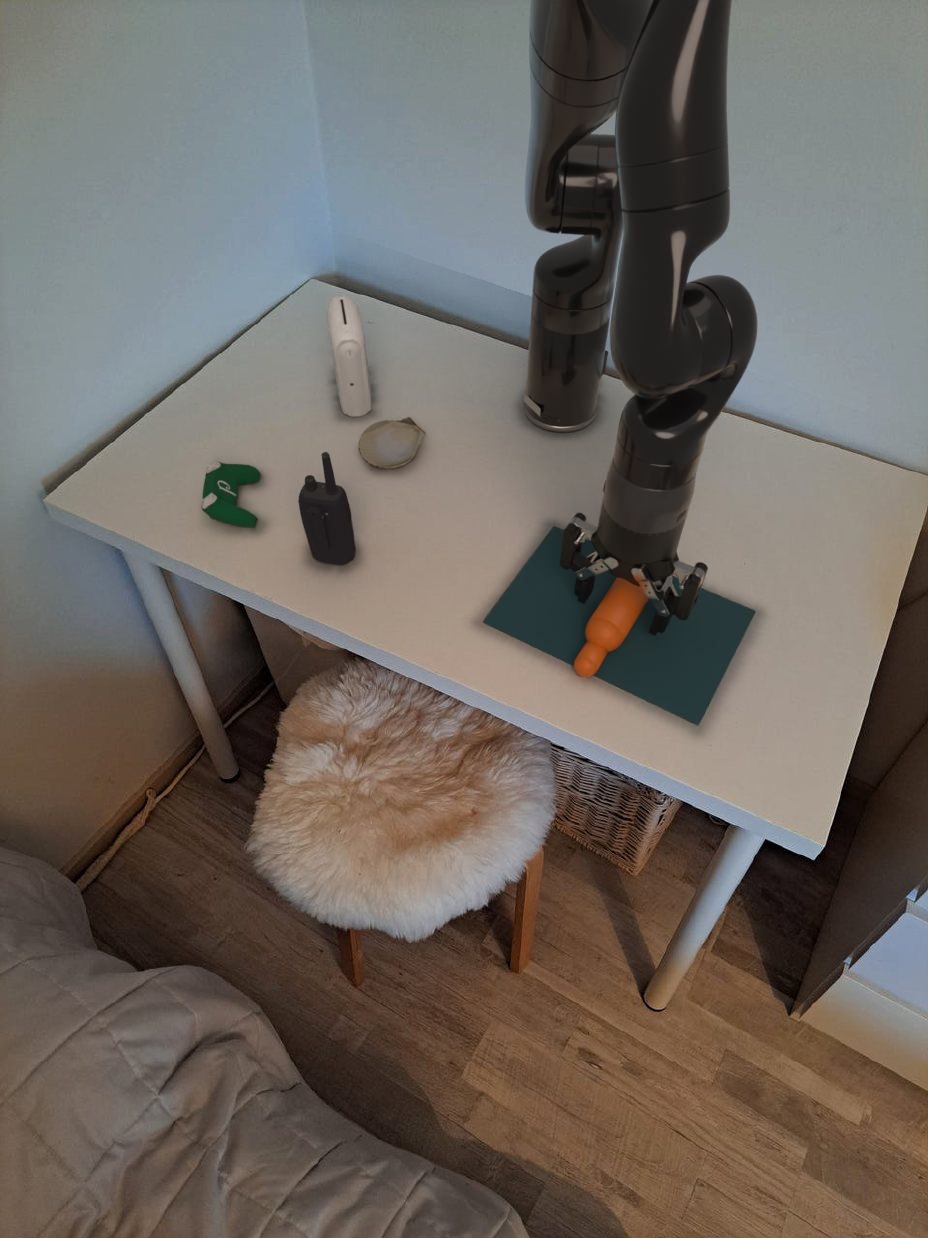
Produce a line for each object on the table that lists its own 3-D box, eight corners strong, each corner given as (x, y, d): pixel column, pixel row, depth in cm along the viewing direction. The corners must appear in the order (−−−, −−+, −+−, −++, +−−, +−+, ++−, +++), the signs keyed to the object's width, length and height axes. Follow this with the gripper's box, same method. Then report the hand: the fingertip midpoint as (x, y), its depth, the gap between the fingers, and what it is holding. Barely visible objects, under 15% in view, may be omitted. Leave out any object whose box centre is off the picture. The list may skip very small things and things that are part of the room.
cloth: (553, 527, 96) (554, 525, 96) (755, 612, 88) (755, 610, 88) (483, 622, 88) (483, 621, 88) (698, 725, 80) (699, 724, 80)
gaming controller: (246, 487, 103) (202, 463, 99) (264, 469, 101) (219, 444, 97) (241, 542, 97) (194, 520, 94) (260, 524, 95) (213, 501, 92)
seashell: (356, 457, 106) (380, 483, 100) (347, 437, 104) (371, 463, 98) (412, 426, 107) (439, 451, 102) (404, 406, 105) (431, 430, 99)
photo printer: (375, 415, 108) (365, 332, 98) (341, 419, 108) (329, 336, 98) (366, 367, 114) (356, 284, 104) (335, 371, 114) (322, 287, 104)
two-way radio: (361, 548, 94) (345, 446, 82) (349, 577, 92) (331, 476, 80) (315, 540, 95) (292, 438, 83) (302, 569, 92) (276, 468, 80)
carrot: (631, 563, 92) (637, 539, 89) (664, 578, 91) (672, 554, 88) (561, 671, 84) (565, 648, 80) (597, 689, 82) (603, 667, 79)
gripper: (738, 503, 73) (698, 616, 86) (591, 447, 78) (574, 562, 91) (707, 558, 69) (669, 668, 83) (554, 496, 74) (541, 609, 87)
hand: (619, 612), depth 87 cm, fingers open, 7 cm apart
